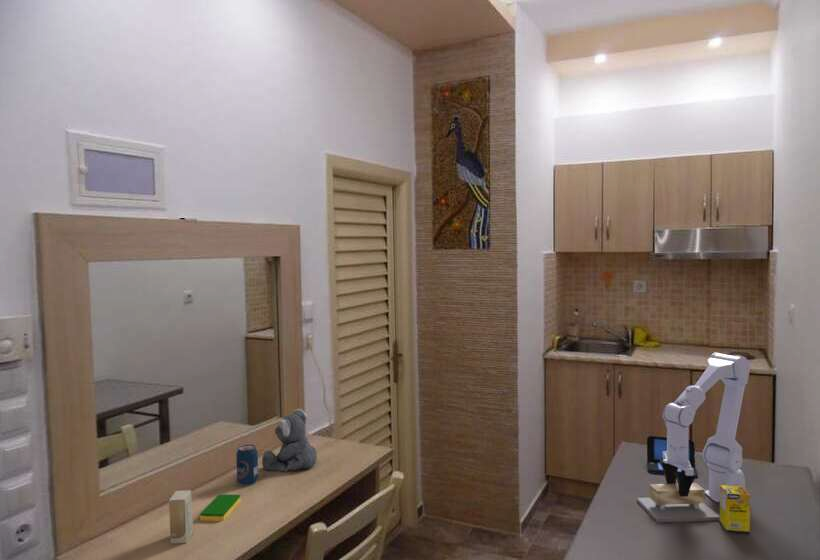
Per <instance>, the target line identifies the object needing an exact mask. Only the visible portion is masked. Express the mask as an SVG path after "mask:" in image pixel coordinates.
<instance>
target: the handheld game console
mask: <svg viewBox="0 0 820 560" xmlns="http://www.w3.org/2000/svg"><path fill="white" fill-rule="evenodd" d="M688 446H689V447H688V460H689V462H690V465H691V467H692V468H693V469H694V473H695V474H696V475H697V476H696V478H698V475H699V473H698V471H697V467H696V456H695V454H696V453H695V451H696V450H695V447H696V446H695V442H694V440H692V439H689V442H688ZM663 451H667V436H666V437H665V436H657V435H656V436H655V435H649V436H647V437H646V458H647V459H646V464H647V471H648V473H651V474H659V475H665V474H664V471H663V468H662V466H661V464H660V461H661V460H663V459H664V458H663ZM677 472H681V469H679V468H678V471H677Z"/></svg>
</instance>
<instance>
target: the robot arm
mask: <svg viewBox="0 0 820 560" xmlns="http://www.w3.org/2000/svg"><path fill="white" fill-rule="evenodd" d="M706 361H707V362H706V366H707V367H706V368H705V370H704V372H703V373H702V374H701V376H700V377H699V379H697V381H696V382H695V384H694V385H688V386H686V388H684V391H683V392H681V394H680V395H679V396H678V397H677V398H676V400H675V401H674V402H669V403H667V404H666V405H665V407H664V408H663V412H662V418H663V421H664V423H665V427H666V437H667V451H663V458H664V459H663V460H661V461H660V464H661V466H662V468H663V471H664V474H663V475H664V478H665V482H666V484H677V483H678V488H679V495H680V496H681V497H687V496H688V494H689V491H690V487H691V485H692V483H694V481H695V480H696V478H697V477H698V476H697V475H696V474H695V473H694V469H693V468H692V467H691V465H690V462H689V460H688V447H689V446H688V442H689V440H690V439H689V437H690V436H689V433H690V431H689V426H690V425H692V423H693V421H694V418H695V415H696V413H697V412H696V411H697V409H698V408H699V407H700V406H701V405H702V404H703V403H704V401H706V393H707V392H708V390H710V389H711V388H712V387H713V386H714V385H715V384H716V383H718V382H719V380H720V381H722V382H723V384H724V390H723V394H722V400H721V405H720V411H719V416H718V421H717V426H716V431H715V435H712V436H711V437H710V436H709V437H708V439H707V440H706V443H705V446H704V447H703V450H702V459H703V460H704V462H705V463H706V466H707V467H708V489H705V496H708V497H709V498H710V499H712V500H713V501H714V502H716V503H720V485H727V486H742V487H743V488H744V489H745V490H746V478H745V474H744V472H743V470H741V467H742V465H743V462H744V461H743V447H742V446H741V445H740V444H739V443H738V441H737V440H736V435H737V432H738V431H737V429H738V426H739V425H738V424H739V419H740V414H741V409H742V403H743V397H744V393H745V387H746V385H748V381H749V375H750V370H751V364H750V363H749V360H748V359H747V358H746V357H745V356H739V355H738V356H737V355H731V354H725V353H720V352H717V351H716V352H713V353H711V355H710V357H708V359H707V360H706ZM678 468H679V469H681V472H677V471H678ZM696 476H697V477H696Z"/></svg>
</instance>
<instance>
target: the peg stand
mask: <svg viewBox="0 0 820 560" xmlns="http://www.w3.org/2000/svg"><path fill="white" fill-rule="evenodd" d="M636 502H637V503H638V504H639V505H640V506H641V507H642V508H643V509H644V511H646V512H647V513H648V515H650V516H651V517H652V518H653V520H655V521H656V523H678V522H679V523H680V522H684V523H685V522H711V521H712V522H715V521H720V514H717V512H716V511H714V510H713V509H711V507H709V506H708V505H706V504H705V503H698V504H668V505H657V504H656V503H655V502H654V501H653V500H652V499H651V498H650V497H637V498H636Z"/></svg>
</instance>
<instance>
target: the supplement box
mask: <svg viewBox="0 0 820 560" xmlns="http://www.w3.org/2000/svg"><path fill="white" fill-rule="evenodd" d="M750 514H751V494H750V493H749V492H748V491H747V490H746V488H745V489H744V488H743V487H742V486H727V485H720V502H719V516H720V520H719V524H720V526H721V527H722V528H723V530H724V531H725V532H726V533H728V534H740V535H741V534H743V535H749V534H750V530H751V529H750V528H751V527H750V524H751V523H750V521H751V518H750V517H751V515H750Z"/></svg>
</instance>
